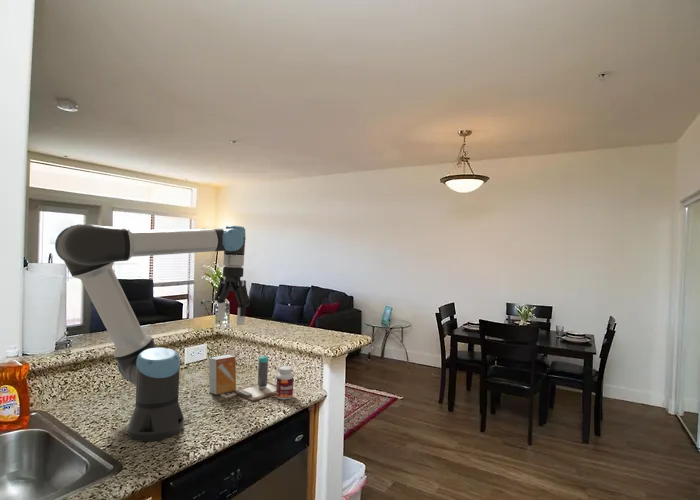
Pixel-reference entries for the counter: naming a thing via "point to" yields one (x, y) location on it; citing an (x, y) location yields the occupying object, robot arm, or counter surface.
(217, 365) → the small box
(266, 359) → the marker
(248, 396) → the clipboard
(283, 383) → the pill bottle
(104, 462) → the counter surface
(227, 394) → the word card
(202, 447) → the counter surface
